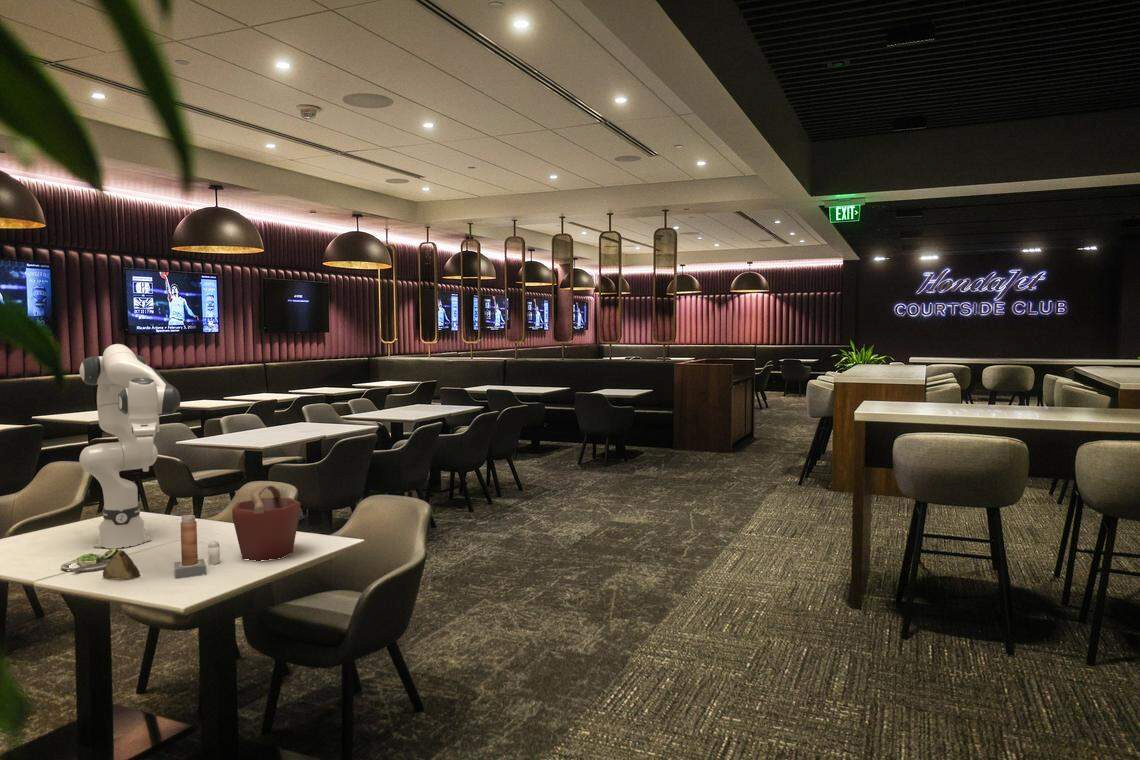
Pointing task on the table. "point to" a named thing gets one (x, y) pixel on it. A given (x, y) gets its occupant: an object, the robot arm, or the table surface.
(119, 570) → the rock
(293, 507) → the bucket
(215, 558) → the salt shaker
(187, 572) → the plinth
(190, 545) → the pepper mill
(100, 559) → the plate of avocado toast
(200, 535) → the table surface
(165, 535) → the table surface
